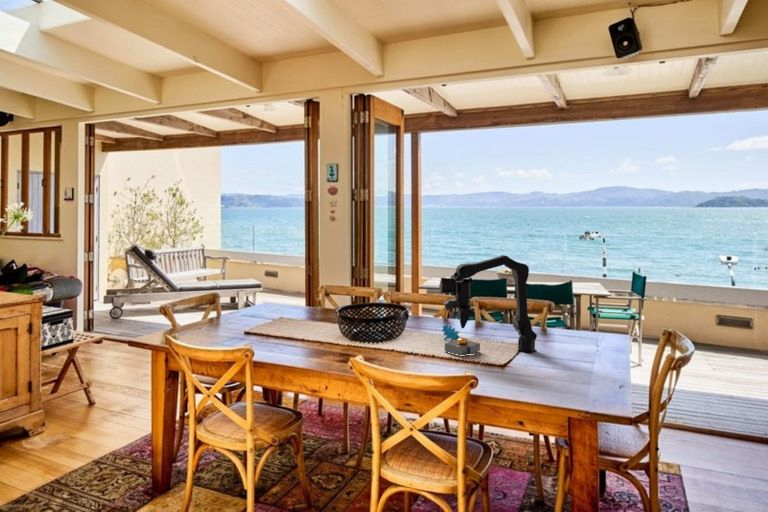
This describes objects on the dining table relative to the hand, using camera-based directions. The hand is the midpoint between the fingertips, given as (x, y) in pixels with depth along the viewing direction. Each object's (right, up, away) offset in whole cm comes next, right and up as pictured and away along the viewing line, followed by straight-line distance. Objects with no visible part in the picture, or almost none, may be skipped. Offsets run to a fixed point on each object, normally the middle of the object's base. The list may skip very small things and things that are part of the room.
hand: (462, 328), depth 216 cm
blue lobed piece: (-2, -9, +21) cm, 23 cm away
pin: (0, -10, +1) cm, 11 cm away
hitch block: (0, -11, +1) cm, 11 cm away
